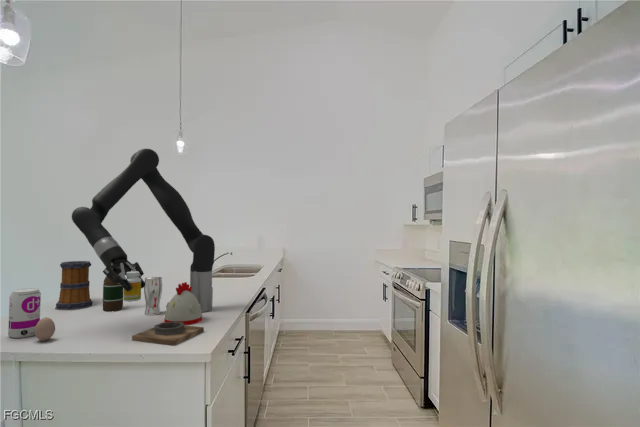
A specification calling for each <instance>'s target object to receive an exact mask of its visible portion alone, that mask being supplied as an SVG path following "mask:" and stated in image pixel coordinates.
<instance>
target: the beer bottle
mask: <svg viewBox="0 0 640 427" xmlns="http://www.w3.org/2000/svg"><path fill="white" fill-rule="evenodd" d="M113 278H114V279H115V277H114V276H113ZM123 308H124V288H123V286H122V285H121V284H119V283H117V282H116V283H113V282H112V281H111V280H110V279H109V278H108V277H107V276H106V275H105V277H104V279H103V284H102V311H103V312H105V313H106V312H108V313H109V312H112V311H114V312H117V311H121V310H122V309H123ZM112 313H113V312H112Z"/></svg>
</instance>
